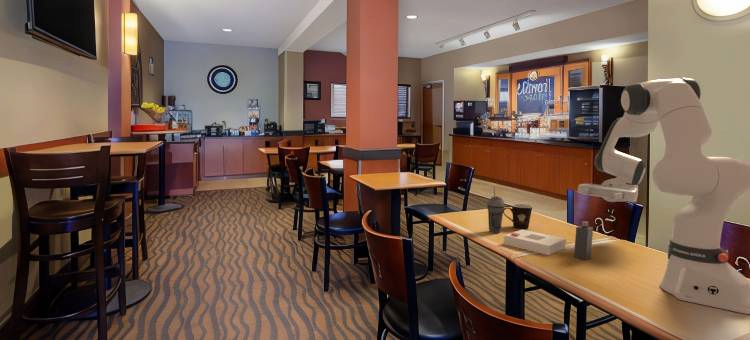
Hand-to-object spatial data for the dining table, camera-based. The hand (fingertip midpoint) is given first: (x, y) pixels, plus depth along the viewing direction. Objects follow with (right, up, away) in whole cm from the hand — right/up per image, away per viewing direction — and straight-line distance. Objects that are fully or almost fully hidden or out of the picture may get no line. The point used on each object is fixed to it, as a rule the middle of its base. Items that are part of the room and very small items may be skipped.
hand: (599, 194), depth 159 cm
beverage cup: (-31, -18, +27) cm, 45 cm away
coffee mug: (-18, -17, +36) cm, 44 cm away
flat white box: (-21, -20, +7) cm, 30 cm away
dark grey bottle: (-9, -22, -6) cm, 25 cm away
